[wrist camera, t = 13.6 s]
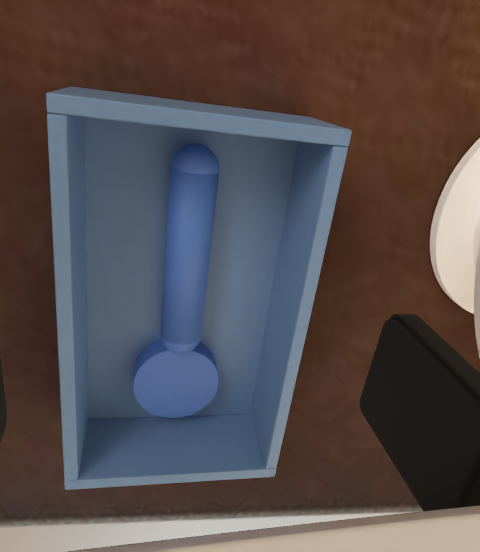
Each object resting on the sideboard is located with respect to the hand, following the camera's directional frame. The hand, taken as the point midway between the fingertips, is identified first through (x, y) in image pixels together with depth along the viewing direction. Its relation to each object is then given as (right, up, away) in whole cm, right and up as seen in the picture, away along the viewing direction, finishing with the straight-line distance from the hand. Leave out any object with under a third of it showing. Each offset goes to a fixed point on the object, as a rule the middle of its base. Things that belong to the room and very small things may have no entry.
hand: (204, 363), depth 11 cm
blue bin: (-2, +2, +11) cm, 12 cm away
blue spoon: (-2, +1, +11) cm, 11 cm away
